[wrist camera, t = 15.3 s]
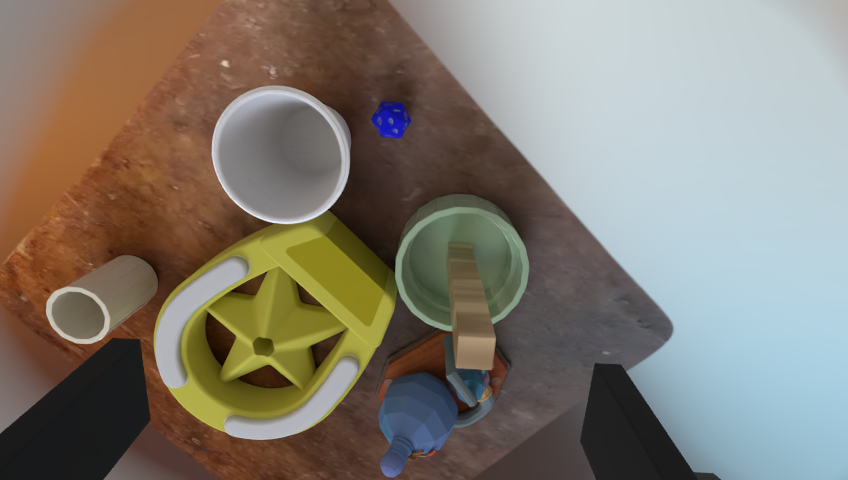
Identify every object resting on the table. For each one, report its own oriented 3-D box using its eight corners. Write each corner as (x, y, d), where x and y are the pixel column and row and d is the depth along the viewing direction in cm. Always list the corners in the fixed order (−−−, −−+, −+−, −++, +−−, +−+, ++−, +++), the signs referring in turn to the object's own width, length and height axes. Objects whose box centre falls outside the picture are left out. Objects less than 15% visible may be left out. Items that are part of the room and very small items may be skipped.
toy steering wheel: (431, 307, 44) (431, 335, 39) (275, 443, 49) (259, 482, 44) (290, 173, 41) (272, 185, 36) (137, 332, 45) (102, 362, 40)
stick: (447, 242, 42) (458, 335, 26) (472, 243, 42) (496, 337, 26) (446, 264, 42) (455, 368, 27) (469, 266, 42) (492, 370, 27)
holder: (101, 253, 43) (40, 285, 36) (156, 256, 43) (106, 288, 36) (107, 302, 44) (51, 341, 38) (161, 305, 44) (113, 345, 38)
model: (416, 444, 48) (413, 524, 40) (359, 374, 46) (342, 443, 37) (523, 383, 46) (546, 454, 38) (469, 307, 44) (479, 364, 35)
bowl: (401, 188, 41) (398, 202, 36) (524, 196, 41) (536, 211, 36) (396, 301, 44) (392, 327, 39) (510, 308, 44) (520, 335, 39)
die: (375, 136, 40) (360, 117, 37) (392, 109, 40) (379, 88, 37) (403, 149, 39) (389, 131, 36) (420, 121, 39) (408, 101, 36)
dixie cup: (357, 201, 41) (336, 238, 32) (256, 178, 41) (203, 208, 31) (377, 98, 39) (361, 104, 29) (270, 73, 38) (218, 70, 29)
